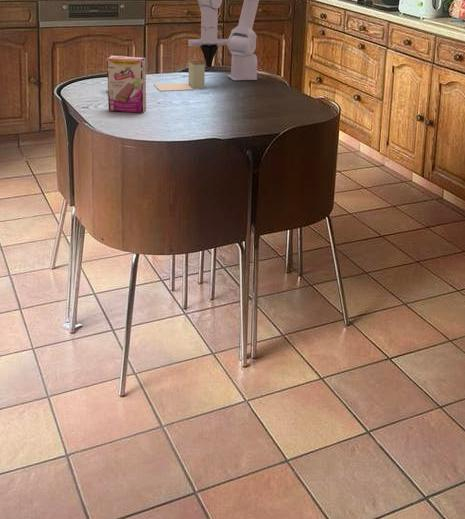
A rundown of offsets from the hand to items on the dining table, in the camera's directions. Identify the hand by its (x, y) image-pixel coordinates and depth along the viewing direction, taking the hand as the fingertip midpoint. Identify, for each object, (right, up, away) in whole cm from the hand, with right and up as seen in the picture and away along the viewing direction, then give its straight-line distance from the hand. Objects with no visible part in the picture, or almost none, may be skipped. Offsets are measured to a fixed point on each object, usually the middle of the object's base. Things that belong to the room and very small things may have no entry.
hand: (208, 66), depth 259 cm
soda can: (-30, -11, -8) cm, 33 cm away
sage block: (-4, -7, +2) cm, 8 cm away
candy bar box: (-24, -22, -31) cm, 45 cm away
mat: (-13, -8, -1) cm, 15 cm away
